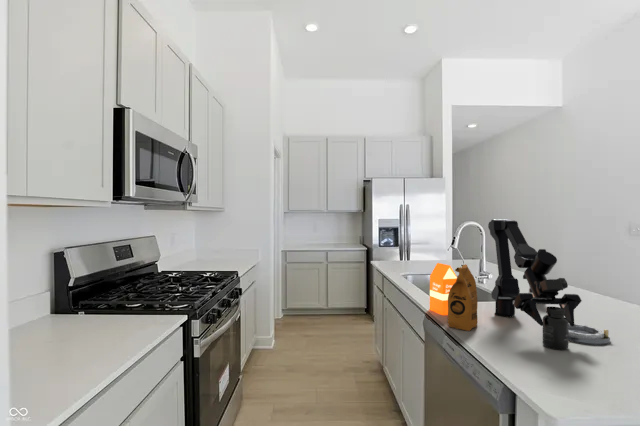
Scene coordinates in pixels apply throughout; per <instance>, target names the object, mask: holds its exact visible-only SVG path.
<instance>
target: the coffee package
mask: <svg viewBox="0 0 640 426" xmlns="http://www.w3.org/2000/svg"><path fill="white" fill-rule="evenodd" d="M454 272H457V273H458V275H457V279H456V282H455V283H454V284H453V286H452V287H451V289H450V291H449V295H448V315H447V325H448V326H449V328H453V329H456V330H463V331H465V332H466V331H467V332H470V331H472V330H473V328H477V326H478V300H479V299H478V291H477V283H476V279H475V277H474V275H473V274H472V271H471V269H470V268H469V267H468V264H463V265H462V266H461V267H456V268H455V270H454Z"/></svg>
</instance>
